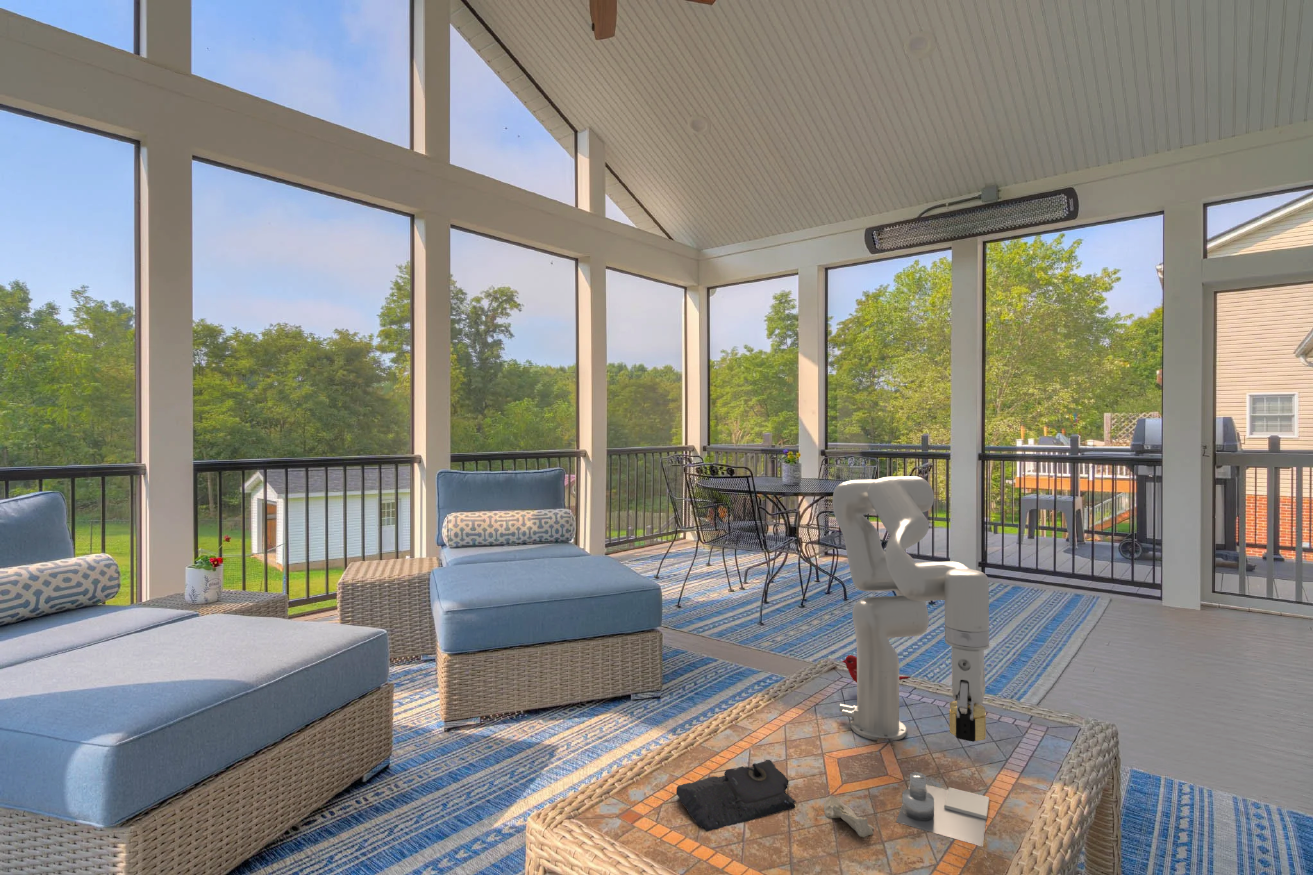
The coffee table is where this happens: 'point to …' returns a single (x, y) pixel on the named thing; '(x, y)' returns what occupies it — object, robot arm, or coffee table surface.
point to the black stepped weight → (736, 796)
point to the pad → (967, 803)
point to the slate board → (948, 820)
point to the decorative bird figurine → (852, 667)
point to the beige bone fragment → (847, 816)
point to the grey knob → (918, 799)
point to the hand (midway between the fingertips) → (967, 731)
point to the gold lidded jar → (978, 716)
